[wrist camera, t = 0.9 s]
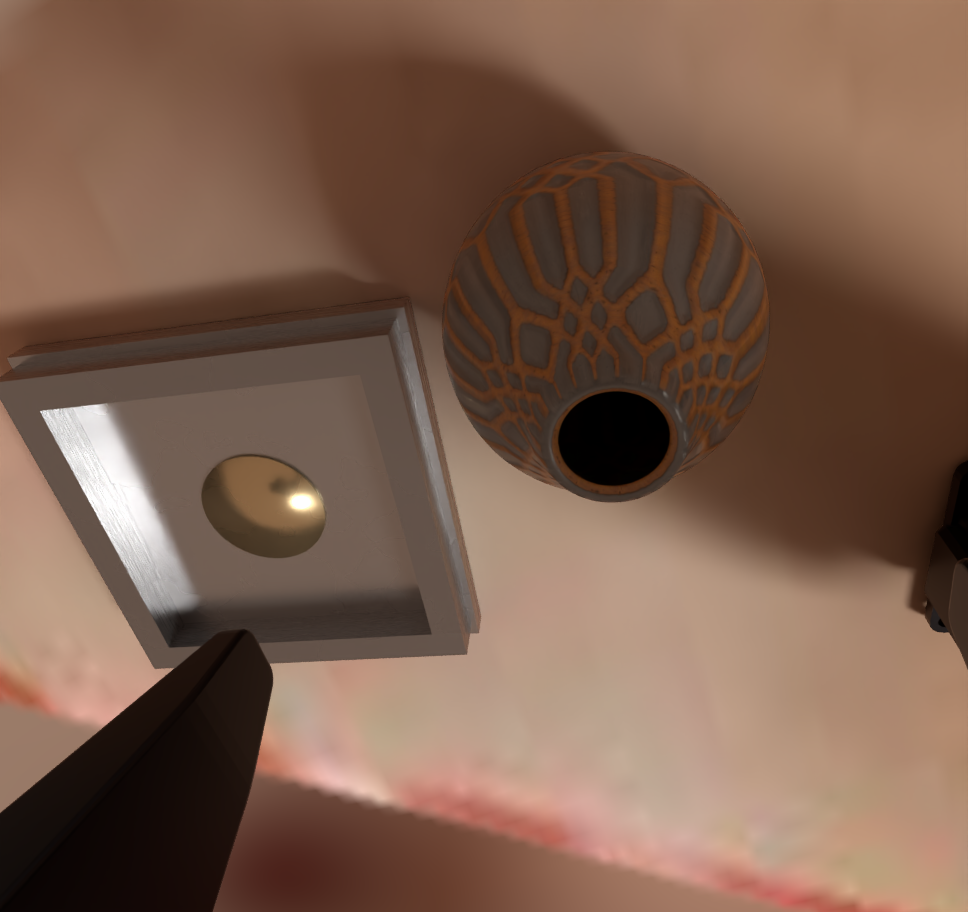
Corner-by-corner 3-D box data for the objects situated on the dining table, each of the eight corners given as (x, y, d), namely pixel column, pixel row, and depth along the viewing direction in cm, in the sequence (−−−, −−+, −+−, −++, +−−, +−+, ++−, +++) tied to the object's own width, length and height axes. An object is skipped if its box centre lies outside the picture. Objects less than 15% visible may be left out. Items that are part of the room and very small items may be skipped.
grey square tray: (409, 297, 20) (394, 324, 18) (480, 616, 26) (475, 659, 24) (24, 346, 22) (-22, 375, 20) (176, 633, 28) (151, 674, 26)
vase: (419, 198, 18) (323, 329, 11) (688, 78, 16) (793, 140, 9) (520, 420, 21) (499, 638, 14) (756, 342, 20) (875, 547, 12)
